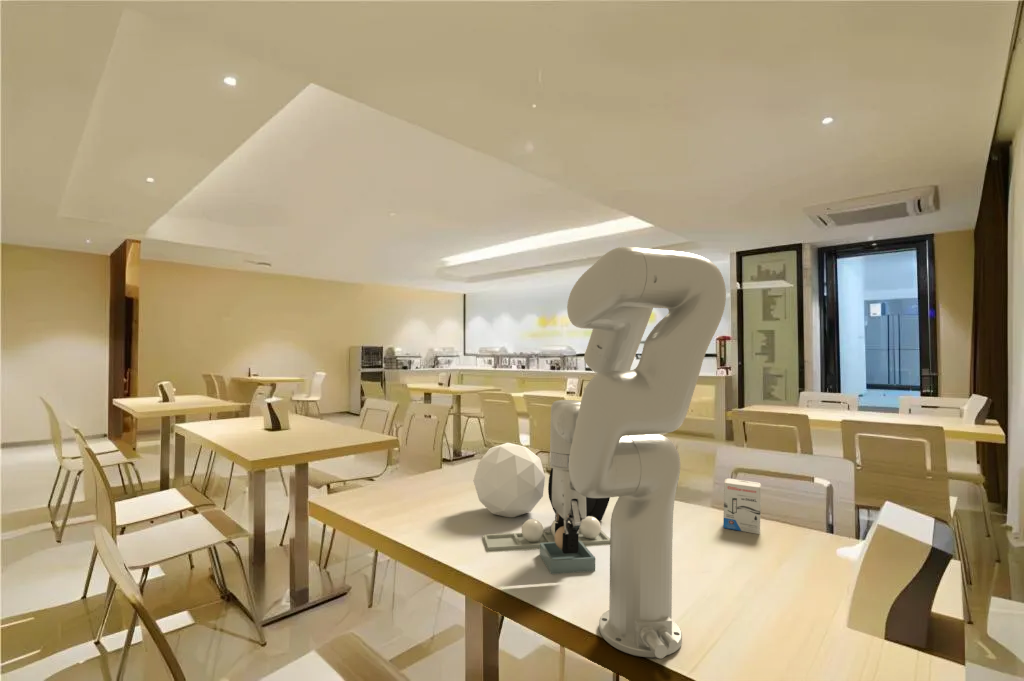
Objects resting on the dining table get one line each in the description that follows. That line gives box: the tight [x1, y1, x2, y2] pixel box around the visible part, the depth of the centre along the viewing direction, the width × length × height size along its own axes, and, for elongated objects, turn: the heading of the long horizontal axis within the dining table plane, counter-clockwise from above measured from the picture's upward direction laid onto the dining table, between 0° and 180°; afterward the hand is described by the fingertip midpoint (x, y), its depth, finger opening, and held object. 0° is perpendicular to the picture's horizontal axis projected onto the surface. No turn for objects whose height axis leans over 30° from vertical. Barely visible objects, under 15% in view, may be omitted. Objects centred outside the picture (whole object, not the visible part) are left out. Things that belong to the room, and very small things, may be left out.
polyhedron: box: [473, 442, 546, 518], centre depth 134 cm, size 19×20×20 cm
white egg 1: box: [521, 518, 544, 542], centre depth 113 cm, size 5×5×5 cm
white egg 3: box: [579, 516, 602, 539], centre depth 116 cm, size 5×5×5 cm
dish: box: [539, 541, 596, 575], centre depth 102 cm, size 9×9×3 cm
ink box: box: [722, 477, 762, 535], centre depth 125 cm, size 9×5×12 cm, turn 62°
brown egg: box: [554, 526, 565, 550], centre depth 102 cm, size 5×5×5 cm
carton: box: [481, 529, 610, 553], centre depth 114 cm, size 9×29×1 cm, turn 101°
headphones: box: [547, 467, 611, 523], centre depth 127 cm, size 19×7×20 cm, turn 129°
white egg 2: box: [550, 519, 571, 537], centre depth 114 cm, size 5×5×5 cm
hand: (566, 546), depth 102 cm, fingers closed on brown egg, 4 cm apart
